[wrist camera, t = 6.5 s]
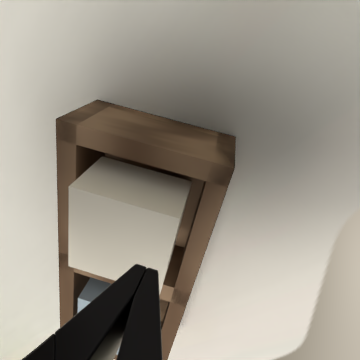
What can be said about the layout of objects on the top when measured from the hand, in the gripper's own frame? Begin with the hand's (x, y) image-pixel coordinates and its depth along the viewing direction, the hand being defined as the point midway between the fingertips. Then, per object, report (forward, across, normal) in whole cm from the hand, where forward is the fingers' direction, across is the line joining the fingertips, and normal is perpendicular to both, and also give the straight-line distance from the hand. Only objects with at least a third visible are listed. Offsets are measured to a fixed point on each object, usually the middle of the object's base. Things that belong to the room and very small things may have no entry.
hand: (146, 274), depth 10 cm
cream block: (+8, +3, +4) cm, 9 cm away
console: (+11, +3, +9) cm, 15 cm away
